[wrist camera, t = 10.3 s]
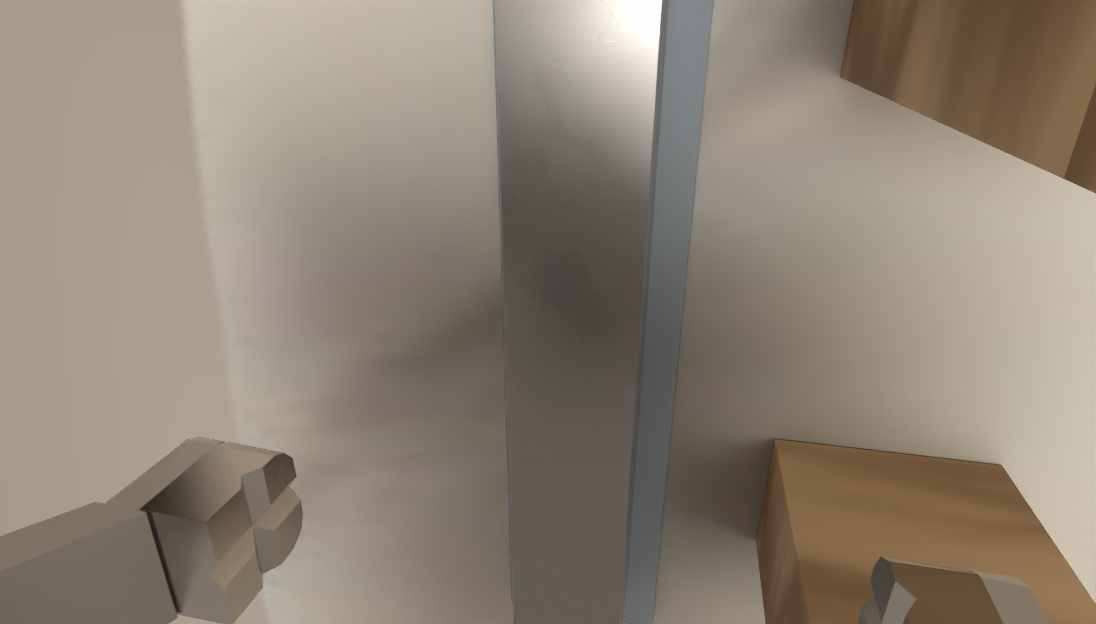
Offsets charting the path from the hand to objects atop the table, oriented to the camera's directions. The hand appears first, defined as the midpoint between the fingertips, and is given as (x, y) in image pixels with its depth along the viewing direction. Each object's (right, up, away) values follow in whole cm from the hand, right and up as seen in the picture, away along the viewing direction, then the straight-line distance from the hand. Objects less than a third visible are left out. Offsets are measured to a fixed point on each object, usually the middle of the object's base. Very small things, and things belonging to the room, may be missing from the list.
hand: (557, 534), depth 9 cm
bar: (+1, +4, +8) cm, 9 cm away
